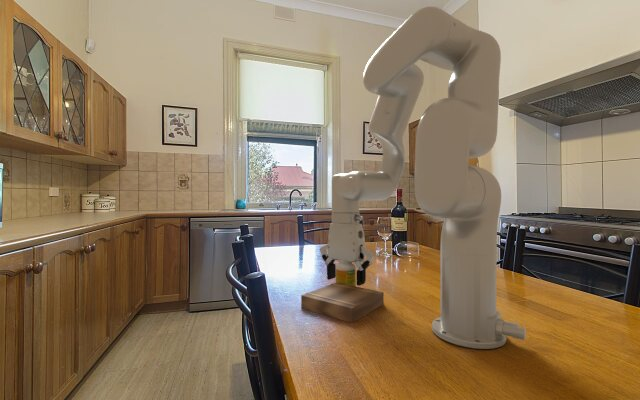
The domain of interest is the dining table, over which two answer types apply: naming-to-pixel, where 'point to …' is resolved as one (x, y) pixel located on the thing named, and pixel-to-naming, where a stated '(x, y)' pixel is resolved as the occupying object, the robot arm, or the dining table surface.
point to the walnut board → (342, 301)
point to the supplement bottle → (346, 273)
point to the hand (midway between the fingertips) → (345, 281)
